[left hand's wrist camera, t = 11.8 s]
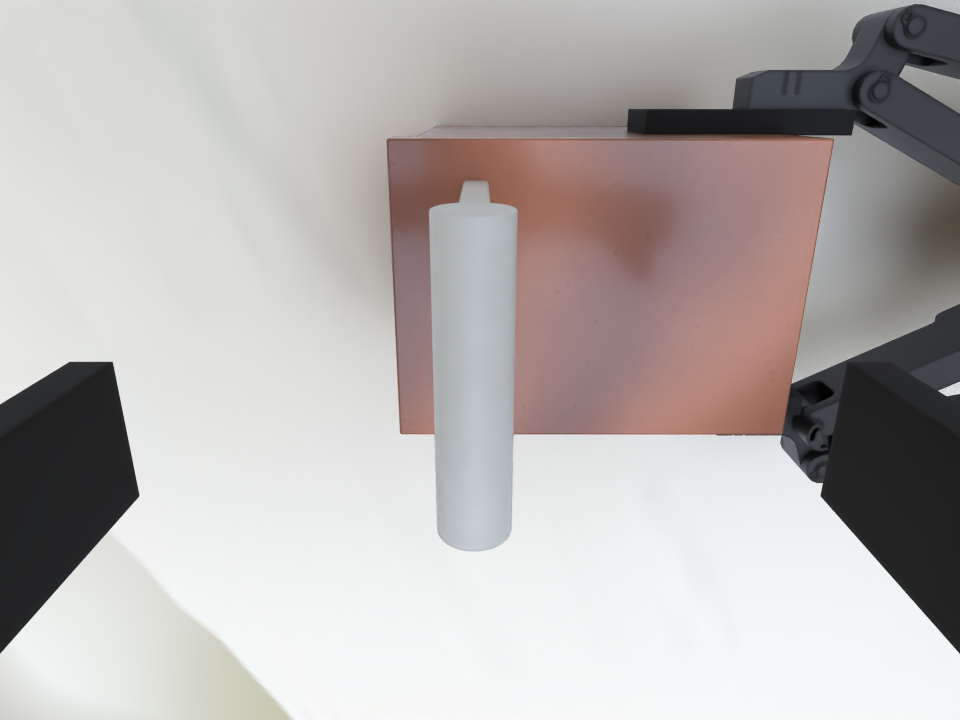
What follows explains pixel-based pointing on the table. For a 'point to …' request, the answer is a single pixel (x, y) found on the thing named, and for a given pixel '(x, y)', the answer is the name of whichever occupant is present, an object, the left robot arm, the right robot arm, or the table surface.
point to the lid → (592, 295)
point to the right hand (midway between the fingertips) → (625, 266)
